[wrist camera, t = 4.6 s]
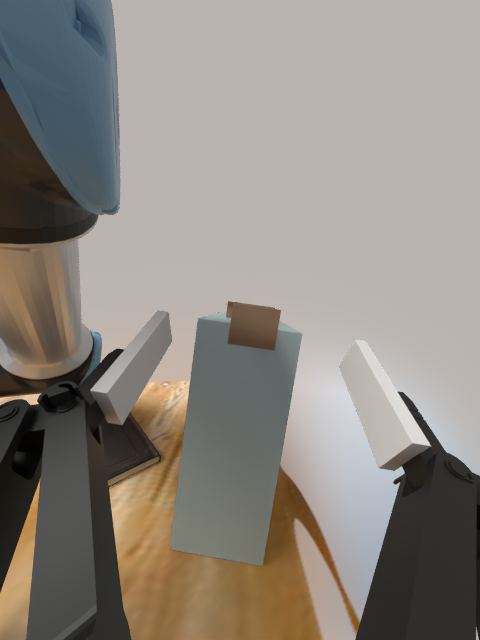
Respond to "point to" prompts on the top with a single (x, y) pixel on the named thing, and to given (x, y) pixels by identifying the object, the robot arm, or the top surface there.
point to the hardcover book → (126, 449)
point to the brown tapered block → (253, 325)
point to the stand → (232, 442)
